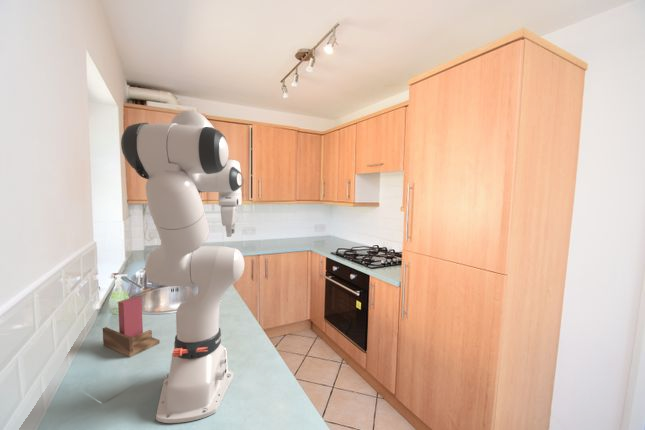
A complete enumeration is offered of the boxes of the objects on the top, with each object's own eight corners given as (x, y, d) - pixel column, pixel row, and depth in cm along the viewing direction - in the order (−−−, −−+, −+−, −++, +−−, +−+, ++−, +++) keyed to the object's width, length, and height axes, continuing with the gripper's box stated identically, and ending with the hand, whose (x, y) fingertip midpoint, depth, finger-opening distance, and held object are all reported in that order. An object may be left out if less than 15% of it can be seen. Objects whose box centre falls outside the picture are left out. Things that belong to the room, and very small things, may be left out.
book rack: (133, 333, 108) (132, 317, 108) (159, 343, 101) (159, 326, 100) (103, 345, 99) (102, 328, 99) (130, 357, 92) (129, 339, 92)
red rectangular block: (137, 336, 103) (136, 296, 102) (142, 338, 102) (141, 297, 101) (119, 343, 98) (118, 301, 97) (125, 346, 97) (123, 303, 96)
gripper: (225, 200, 122) (226, 231, 123) (217, 201, 102) (218, 238, 103) (240, 200, 124) (241, 231, 125) (235, 201, 104) (236, 238, 105)
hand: (230, 235), depth 114 cm, fingers open, 8 cm apart
